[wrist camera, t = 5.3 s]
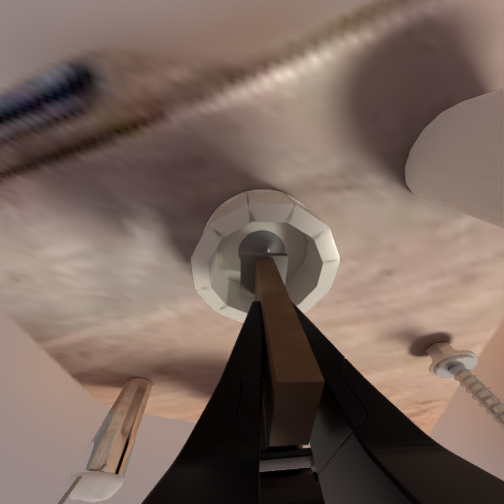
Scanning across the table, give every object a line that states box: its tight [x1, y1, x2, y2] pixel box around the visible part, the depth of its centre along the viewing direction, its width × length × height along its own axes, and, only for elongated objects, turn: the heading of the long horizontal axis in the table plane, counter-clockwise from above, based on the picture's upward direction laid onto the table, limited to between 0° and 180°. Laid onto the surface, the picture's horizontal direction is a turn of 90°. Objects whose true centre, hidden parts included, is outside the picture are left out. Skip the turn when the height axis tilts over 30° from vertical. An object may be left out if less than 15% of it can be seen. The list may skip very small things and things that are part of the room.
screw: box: [426, 342, 504, 430], centre depth 17 cm, size 13×5×5 cm
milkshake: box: [58, 378, 153, 504], centre depth 19 cm, size 4×5×10 cm
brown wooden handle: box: [240, 252, 325, 446], centre depth 9 cm, size 3×3×9 cm
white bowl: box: [191, 189, 340, 323], centre depth 13 cm, size 9×9×4 cm
